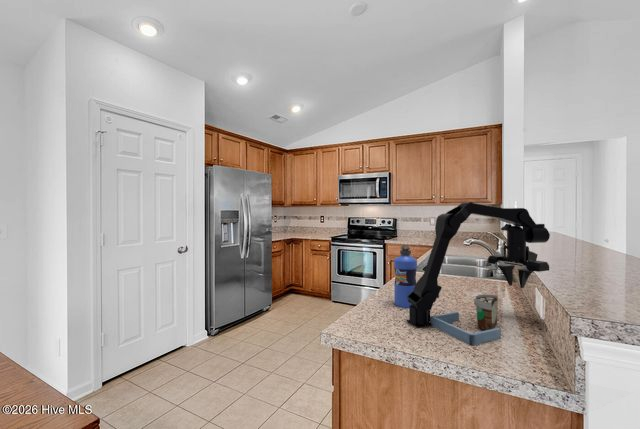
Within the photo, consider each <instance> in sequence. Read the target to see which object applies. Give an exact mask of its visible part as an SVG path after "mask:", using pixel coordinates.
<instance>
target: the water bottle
mask: <svg viewBox="0 0 640 429" xmlns="http://www.w3.org/2000/svg"><path fill="white" fill-rule="evenodd" d="M410 249H411V248H410V246H409V245H408V244H407V245H406V244H403V245H402V246H401V247H400V251H399V254H400V256H397V257H396V258H394V259H393V267H394V276H395V278H394V288H393V289H394V290H393V292H394V300H393V301H394V306H396V307H399V308H402V309H409V306H410V305H411V303H409V302H408V299H407V297H408V296H409V295H410V293H411V292H412V291H413V290H414V287H415V285H416V283H417V277H416V276H417V270H418V259H416V258H414V257H412V256H411V250H410Z"/></svg>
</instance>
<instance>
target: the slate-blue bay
mask: <svg viewBox="0 0 640 429" xmlns="http://www.w3.org/2000/svg"><path fill="white" fill-rule="evenodd" d="M459 316H460V313H459V312H458V311H453V312H452V311H451V312H446V313H442V314H436V315H430V323H431V324H432V325H431V326H430V327H433V328H435V329H437V330H440V331H441V332H444V333H445V334H448V335H449V336H451V337H454V338H456V339H458V340H460V341H462V342H464V343H466V344H468V345H470V346H471V347H472V346H478V345H481V344H484V343H489V342H492V341H496V340H497V341H498V340H501V339H502V338H501V337H502V328H499V327H496V328H495V329H490V330H486V331H482V330H480V331H478V332H477V331H476V332H474V333H473V332H470V331H467V330H465V329H462V328H461V327H458V326H456V325H453V324H451V323H454V322H459V321H460V320H459V319H460V317H459Z"/></svg>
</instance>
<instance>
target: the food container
mask: <svg viewBox="0 0 640 429" xmlns="http://www.w3.org/2000/svg"><path fill="white" fill-rule="evenodd" d="M498 298H499V296H498V295H497V294H478V295H476V296H475V297H474V302H473V304H474V305H475V307H476V308H475V309H476V318H477V319H476V320H477V327H478V328H477V329H479V330H480V331H486V330H490V329H495V328H497V326H498V306H499V305H498V303H499V299H498Z"/></svg>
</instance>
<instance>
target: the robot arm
mask: <svg viewBox="0 0 640 429" xmlns="http://www.w3.org/2000/svg"><path fill="white" fill-rule="evenodd" d="M471 215H475V216H482V217H488V218H493V219H497V220H498V221H501V222H504V223H506V224H504V226H503V227H501V228H500V230H501V231H506V245H504V246H503V248H504V249H506V255H501V254H494V255H489V256H488V258H487V263H488V264H492V265H493V264H494V265H496V264H497V263H498V265H496V267H497V268H498V269H499V270H500V271H501V273H502V274H503V276H504V278H505V280H506V282H507V283H508V286H509V287H510V286H513V279H514V278H513V276H514V275H513V274H514V273H513V272H514V271H513V270H514V268H515V266H520V267H521V268H519V269H517V273H518V280H519V281H518V282H519V287H520V289H524V288H525V286H526V283H527V282H528V279H529V277H530V276H531V274H533V273H534V272H537V273H540V272H546V271H550V264H549V263H548V262H547V261H541V260H538V254H537V253H536V252H533V251H531V250H530V247H529V246H527V243H528V244H540V243H544V244H545V243H547V242H548V241H549V240H550V237H551V234H550V232H549V230H548V229H547V227H546V226H545V225H546V224H545V223H536V222H535V221H534V219H533V218H532V217H531V215H530V212H529V210H528V209H527V208H524V207H509V208H506V207H505V208H504V207H497V206H493V205H492V206H491V205H485V204H480V203H474V202H472V201H464V202H461V203H460V204H458V206H455V207H454V208H452V209H451V210H448V211H446V212H445V213H441V214H439V215H438V216H437V217H436V220H435V228H434V230H435V239H434V242H433V246H432V248H431V250H430V253H429V257H428V260H427V263H426V266H425V268H424V273H423V274H422V275H421V277H420V278H419V279H417V280H416V285H415V287H414V290H413V291H412V292H411V293H410V295H409V296H408V297H407V299H408V302H409V303H411V305H410V306H409V308H408V309H409V315H408V316H409V318H408V319H406V323H408V324H411V326H414V327H416V328H421V329H422V328H425V327H432V326H431V325H432V324H431V323H430V316H431V310H432V308H433V305H434V303H435V302H436V301H437V299H439V298H440V296H439V295H440V292H441V290H442V286H441V285H439V281H438V279H439V276H440V272H441V269H442V266H443V263H444V260H445V257H446V254H447V251H448V247H449V245H450V242H451V240H452V239H453V238H454V237H455V235H457V233H458V231H459V229H460V227H461V226H462V224H463V223H464V222H465V221H467V220H468V218H469V217H470V216H471Z"/></svg>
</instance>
